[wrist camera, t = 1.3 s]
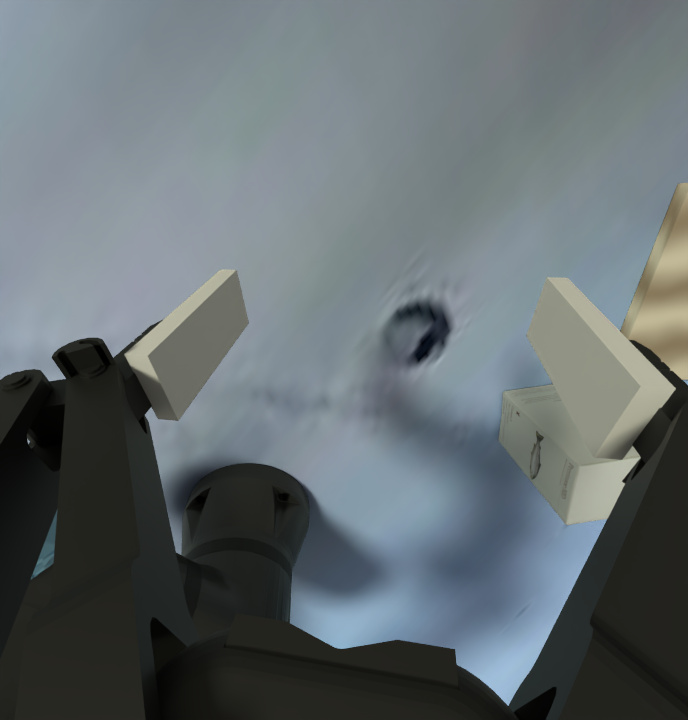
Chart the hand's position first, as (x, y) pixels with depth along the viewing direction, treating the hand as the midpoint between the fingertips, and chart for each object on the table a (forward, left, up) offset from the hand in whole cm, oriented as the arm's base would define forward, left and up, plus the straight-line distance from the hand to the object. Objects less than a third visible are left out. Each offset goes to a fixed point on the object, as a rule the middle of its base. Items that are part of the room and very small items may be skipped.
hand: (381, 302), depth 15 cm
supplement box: (-18, -23, -18) cm, 34 cm away
